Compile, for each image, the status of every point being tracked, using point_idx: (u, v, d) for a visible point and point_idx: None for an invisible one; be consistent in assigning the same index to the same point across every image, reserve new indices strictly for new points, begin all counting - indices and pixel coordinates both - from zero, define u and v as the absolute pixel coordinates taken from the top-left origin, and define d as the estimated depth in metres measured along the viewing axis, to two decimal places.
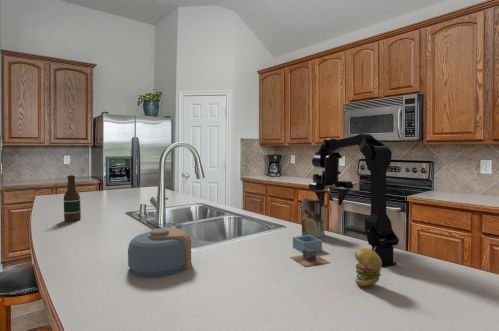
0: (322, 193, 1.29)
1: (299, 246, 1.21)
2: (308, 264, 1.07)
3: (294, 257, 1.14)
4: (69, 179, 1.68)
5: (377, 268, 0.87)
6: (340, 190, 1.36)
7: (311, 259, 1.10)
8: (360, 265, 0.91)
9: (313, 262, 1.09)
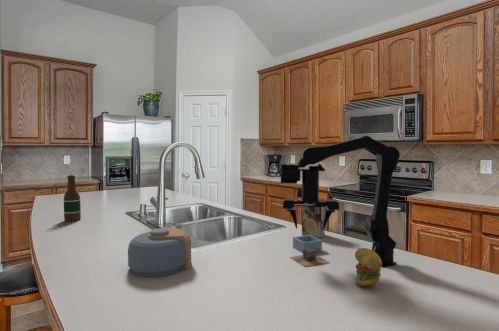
0: (291, 212, 1.09)
1: (299, 246, 1.21)
2: (308, 264, 1.07)
3: (294, 257, 1.14)
4: (69, 179, 1.68)
5: (377, 268, 0.87)
6: (325, 211, 1.10)
7: (311, 259, 1.10)
8: (360, 265, 0.91)
9: (313, 262, 1.09)
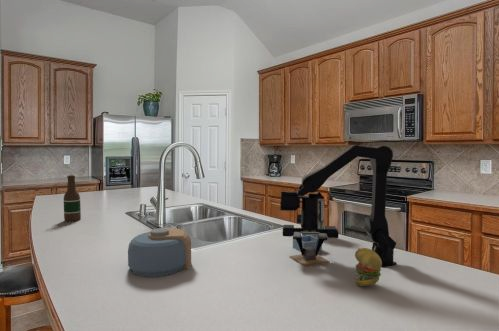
0: (297, 240, 1.09)
1: None
2: (308, 263, 1.07)
3: (294, 256, 1.14)
4: (69, 179, 1.68)
5: (377, 268, 0.87)
6: (317, 237, 1.11)
7: (311, 258, 1.10)
8: (360, 265, 0.91)
9: (313, 261, 1.09)
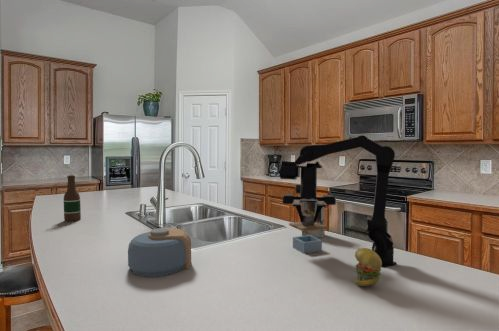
0: (297, 207, 1.14)
1: (299, 246, 1.21)
2: (307, 228, 1.12)
3: (293, 223, 1.19)
4: (69, 179, 1.68)
5: (377, 268, 0.87)
6: (316, 205, 1.16)
7: (309, 224, 1.16)
8: (360, 265, 0.91)
9: (311, 226, 1.14)
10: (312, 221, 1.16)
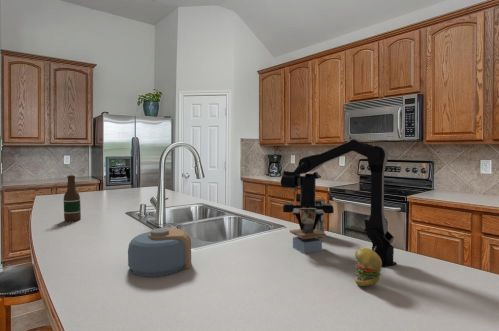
0: (297, 215, 1.20)
1: (299, 246, 1.21)
2: (306, 235, 1.18)
3: (294, 230, 1.25)
4: (69, 179, 1.68)
5: (377, 268, 0.87)
6: (315, 214, 1.22)
7: (309, 231, 1.21)
8: (360, 265, 0.91)
9: (310, 234, 1.20)
10: (311, 228, 1.22)
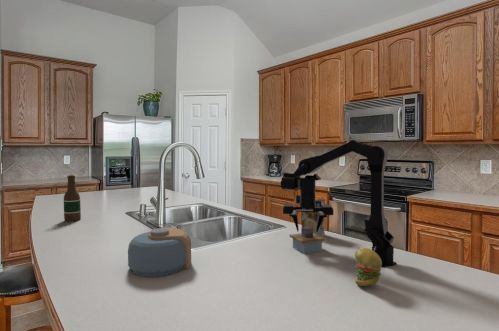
0: (293, 217, 1.21)
1: (299, 246, 1.21)
2: (306, 240, 1.19)
3: (293, 235, 1.26)
4: (69, 179, 1.68)
5: (377, 268, 0.87)
6: (318, 215, 1.22)
7: (308, 236, 1.22)
8: (360, 265, 0.91)
9: (310, 238, 1.20)
10: (311, 233, 1.22)
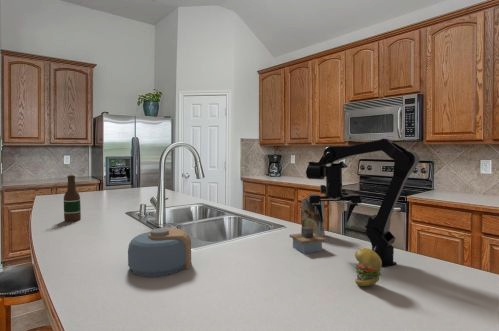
0: (317, 206, 1.17)
1: (299, 246, 1.21)
2: (306, 240, 1.19)
3: (293, 235, 1.26)
4: (69, 179, 1.68)
5: (377, 268, 0.87)
6: (348, 204, 1.19)
7: (308, 236, 1.22)
8: (360, 265, 0.91)
9: (310, 238, 1.20)
10: (311, 233, 1.22)
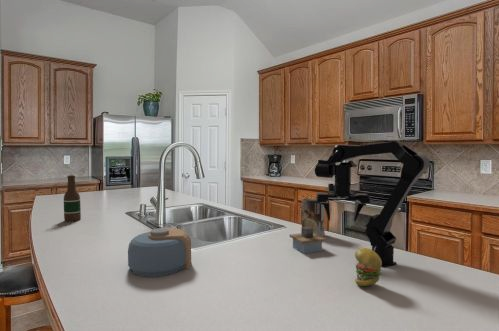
0: (325, 205, 1.16)
1: (299, 246, 1.21)
2: (306, 240, 1.19)
3: (293, 235, 1.26)
4: (69, 179, 1.68)
5: (377, 268, 0.87)
6: (356, 204, 1.18)
7: (308, 236, 1.22)
8: (360, 265, 0.91)
9: (310, 238, 1.20)
10: (311, 233, 1.22)
